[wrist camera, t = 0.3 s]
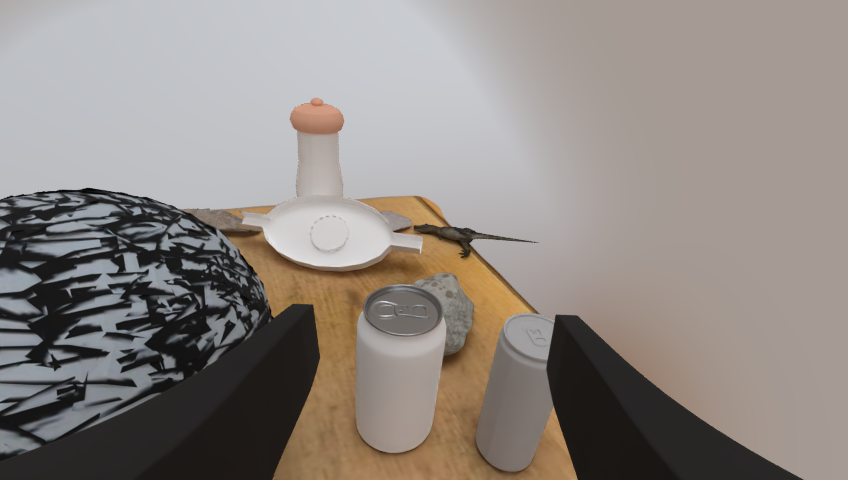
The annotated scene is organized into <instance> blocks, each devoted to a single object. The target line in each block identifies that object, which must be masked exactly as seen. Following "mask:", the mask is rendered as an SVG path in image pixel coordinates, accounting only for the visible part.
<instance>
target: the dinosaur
mask: <svg viewBox="0 0 848 480" xmlns="http://www.w3.org/2000/svg"><path fill="white" fill-rule="evenodd" d="M414 230H415V231H420V232H423V233H428V232H435V233H438V234H439V236H440V239H441V238H442V237H446V238H448V239H451V240H459V241H460V242H461V245H462V247H463V248H464V249H466V250H467V251H468V252H466V251H463V250H461V251H463V252H464V253H458V254H462V255H464V256H462V257H461V258H464V257H467V256H469V254H470V252H471V251H470V250H469V245H468V244H469V243H470V242H471V241H472V240H473V239H495V240H508V241H522V242H531V241H525V240H518V239H512V238H505V237H499V236H493V235H487V234H482V233H477V232H475V231H473V230H471V229H469V228H464V229H462V228H456V227H442V228H441V227H437V226H434V225H428V224H425V225H420V226H418V225H417V226H414ZM534 243H535V242H534Z"/></svg>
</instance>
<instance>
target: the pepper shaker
mask: <svg viewBox="0 0 848 480" xmlns="http://www.w3.org/2000/svg"><path fill="white" fill-rule="evenodd" d="M290 120H291V123H292V125H293V127H294V129H296V130H297V137H298V156H299V162H298V172H297V181H296V190H297V197H303V196H310V195H335V196H341V197H343V183H342V177H341V171H340V165H339V153H338V150H339V149H338V131H340V130H341V129H342V126H343V123H344V118H343V115H342V114H341V112H340V111H339V110H338V109H337V108H335V107H333V106H331V105H328V104H323V101H322V100H321V99H319V98H314V99H312V100H311V103H306V104H302V105H300V106H297V107H295V108H294V110H293V111H292V113H291V117H290Z"/></svg>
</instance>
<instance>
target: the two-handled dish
mask: <svg viewBox="0 0 848 480" xmlns="http://www.w3.org/2000/svg"><path fill="white" fill-rule="evenodd" d="M239 212H240V213H241V214H242V215H243V216H244V219H243V222H242V224H240V223H235V224H236V225H237V226H238V227H239V228H241V229H248V230H255V231H262V232H264V235H265V238H266V240H267V241H268V242H269V243H270V244H271V245H272V246H273V247H274V248H275V250H276V251H277V252H278V253H279V254H280V255H281V256H283V257H284V258H286V259H288V260H290V261H292V262H294V263H296V264H298V265H300V266H304V267H308V268H312V269H316V270H320V271H339V272H345V271H351V270H357V269H363V268H366V267H369V266H371V265H373V264H375V263H377V262H380V261H382V260H383V259H384V258H385V256H386V255H387V254H388V253H389V252H390V251H391V250H396V251H403V252H410V253H417V254H421V248H422V243H423V238H422V236H417V235H410V234H402V233H395V232H393V231H392V228H391V226H390V224H389V221H388V219H386V218H385V217H384V216H383V215H382V214H381V213H380V212H379V211H377V210H376V209H375V208H373V207H371V206H369V205H366V204H364V203H362V202H360V201H358V200H354V199H350V198H345V197H341V196H335V195H310V196H303V197H297V198H293V199H291V200H288V201H286V202H283V203H281V204H278V205H277V206H276V207H275V208H273V209H272V210H271V211H270V212H269V213H268V214H267V215H265V214H258V213H251V212H243V211H239Z"/></svg>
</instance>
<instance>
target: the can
mask: <svg viewBox="0 0 848 480" xmlns="http://www.w3.org/2000/svg"><path fill="white" fill-rule="evenodd" d="M445 340H446V323H445V320H444V317H443V306H442V304H441V302H440V300H439V299H438V298H437V297H436V296H435V295H434V294H432V293H431V292H429V291H427V290H425V289H423V288H421V287H417V286H413V285H407V284H395V285H388V286H384V287H381V288H379V289H377V290H375V291H374V292H372V293H371V294H370V295H369V296H368V297H367V298H366V300H365V302H364V305H363V311H362V313H361V314H360V316H359V319H358V323H357V340H356V425H357V429H358V432H359V434H360V435H361V437H362V438H363V440H364V441H365V442H366V443H368V444H369V445H370V446H372V447H373V448H375V449H377V450H380V451H383V452H388V453H400V452H405V451H409V450H411V449H413V448H415V447H417V446H418V445H420V444H421V443H422V442H423V441H424V440H425V439H426V437H427V436H428V434H429V432H430V430H431V427H432V423H433V417H434V411H435V405H436V399H437V392H438V386H439V380H440V373H441V367H442V360H443V354H444V347H445Z"/></svg>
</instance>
